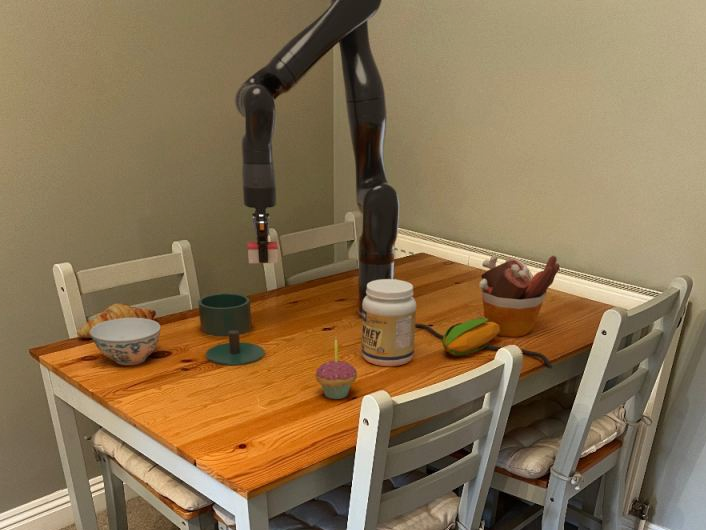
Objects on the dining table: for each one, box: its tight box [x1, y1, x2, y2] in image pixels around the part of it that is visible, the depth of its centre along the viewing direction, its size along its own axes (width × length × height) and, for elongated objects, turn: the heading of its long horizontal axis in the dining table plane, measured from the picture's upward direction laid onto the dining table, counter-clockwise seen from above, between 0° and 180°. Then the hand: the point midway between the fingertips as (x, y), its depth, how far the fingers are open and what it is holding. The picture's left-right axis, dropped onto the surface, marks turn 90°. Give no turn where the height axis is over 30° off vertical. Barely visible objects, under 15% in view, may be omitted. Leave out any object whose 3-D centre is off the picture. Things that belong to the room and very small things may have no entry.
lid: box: [205, 330, 265, 367], centre depth 171 cm, size 13×13×6 cm
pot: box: [197, 292, 253, 338], centre depth 186 cm, size 12×12×8 cm
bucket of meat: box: [478, 254, 560, 338], centre depth 185 cm, size 20×16×20 cm
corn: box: [441, 317, 500, 357], centre depth 177 cm, size 7×8×20 cm
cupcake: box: [315, 335, 358, 400], centre depth 152 cm, size 9×8×12 cm
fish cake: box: [247, 241, 279, 264], centre depth 179 cm, size 7×4×4 cm, turn 99°
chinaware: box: [90, 318, 161, 366], centre depth 167 cm, size 15×15×8 cm
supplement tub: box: [361, 279, 417, 367], centre depth 169 cm, size 12×12×17 cm
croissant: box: [76, 302, 157, 339], centre depth 185 cm, size 21×10×8 cm, turn 136°
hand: (263, 259), depth 180 cm, fingers closed on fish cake, 4 cm apart
